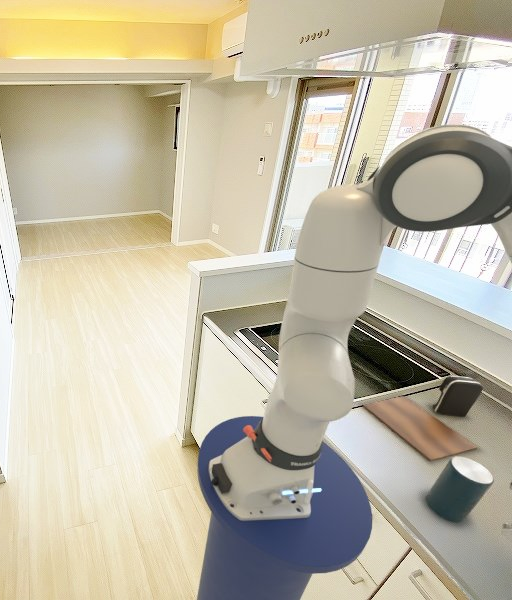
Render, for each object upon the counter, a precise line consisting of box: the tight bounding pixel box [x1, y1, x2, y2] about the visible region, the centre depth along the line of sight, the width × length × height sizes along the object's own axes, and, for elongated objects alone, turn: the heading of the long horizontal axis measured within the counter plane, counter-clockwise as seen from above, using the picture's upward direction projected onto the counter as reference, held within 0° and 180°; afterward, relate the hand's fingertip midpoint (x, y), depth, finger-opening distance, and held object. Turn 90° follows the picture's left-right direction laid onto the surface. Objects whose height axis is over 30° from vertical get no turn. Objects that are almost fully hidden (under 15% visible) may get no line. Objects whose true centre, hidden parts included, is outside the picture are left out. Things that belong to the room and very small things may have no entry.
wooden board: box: [363, 395, 478, 462], centre depth 86 cm, size 14×18×1 cm
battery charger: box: [432, 375, 484, 418], centre depth 88 cm, size 7×4×11 cm, turn 77°
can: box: [425, 456, 495, 524], centre depth 65 cm, size 6×6×12 cm
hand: (509, 509), depth 52 cm, fingers open, 8 cm apart
